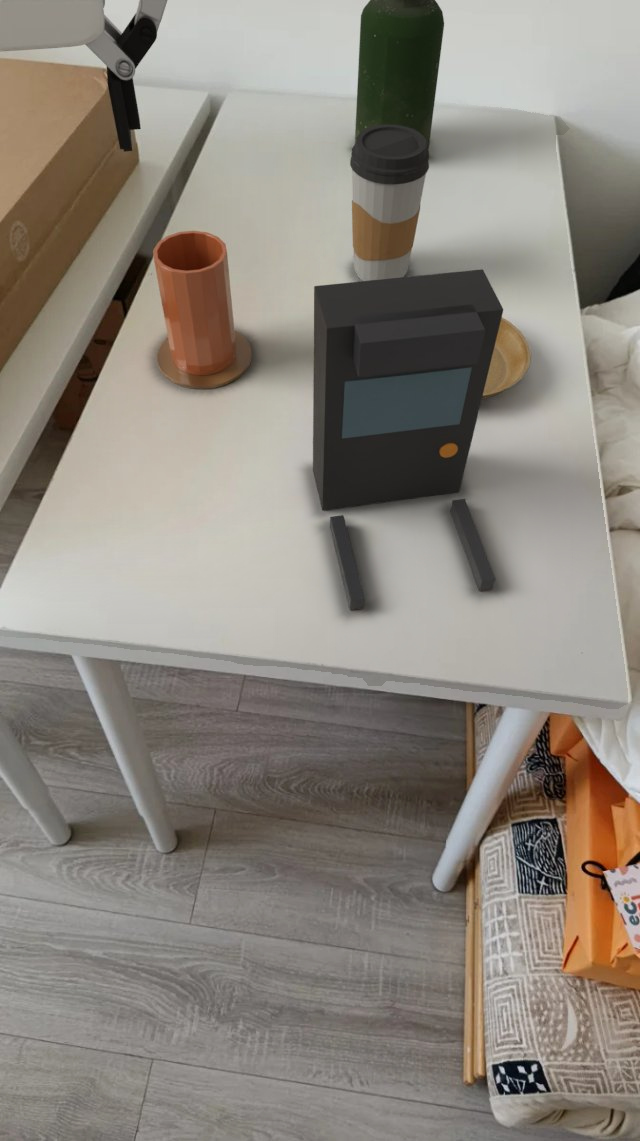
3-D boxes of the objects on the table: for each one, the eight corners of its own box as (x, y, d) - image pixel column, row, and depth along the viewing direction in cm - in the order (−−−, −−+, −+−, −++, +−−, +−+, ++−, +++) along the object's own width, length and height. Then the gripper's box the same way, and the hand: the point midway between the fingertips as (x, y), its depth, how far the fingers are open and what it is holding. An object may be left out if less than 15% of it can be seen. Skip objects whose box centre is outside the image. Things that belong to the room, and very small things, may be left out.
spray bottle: (365, 126, 112) (378, -94, 92) (435, 137, 111) (464, -84, 90) (345, 160, 107) (354, -66, 86) (418, 173, 105) (445, -55, 84)
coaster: (160, 394, 79) (160, 391, 79) (154, 332, 85) (154, 329, 85) (257, 383, 80) (257, 380, 80) (245, 323, 86) (245, 320, 86)
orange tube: (174, 379, 80) (155, 276, 70) (169, 337, 84) (151, 234, 74) (239, 371, 81) (230, 268, 71) (232, 330, 85) (222, 227, 75)
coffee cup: (429, 277, 91) (448, 147, 79) (373, 301, 89) (383, 170, 76) (387, 243, 95) (398, 114, 83) (331, 265, 93) (335, 135, 80)
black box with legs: (346, 611, 64) (359, 439, 48) (312, 470, 73) (314, 285, 57) (495, 589, 66) (557, 415, 50) (444, 453, 75) (483, 268, 59)
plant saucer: (484, 311, 88) (489, 291, 86) (551, 395, 80) (557, 376, 78) (364, 339, 85) (365, 319, 82) (421, 430, 77) (424, 410, 75)
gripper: (135, -271, 37) (182, 108, 51) (-250, -266, 35) (-91, 128, 49) (143, -238, 33) (192, 166, 47) (-294, -229, 31) (-107, 190, 45)
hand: (47, 146), depth 48 cm, fingers open, 9 cm apart
